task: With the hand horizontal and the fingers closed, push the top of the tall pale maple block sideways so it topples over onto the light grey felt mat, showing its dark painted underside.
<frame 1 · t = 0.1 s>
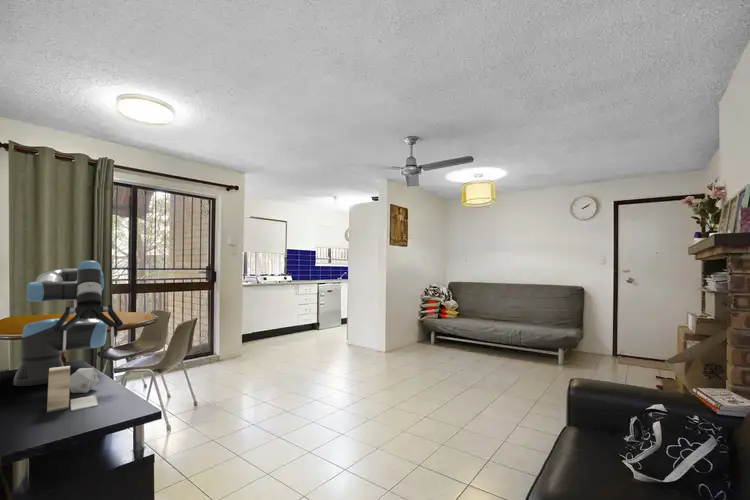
hand: (89, 346, 132), 15 cm above the table, tool tilted 35°, fingers open, 13 cm apart
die: (82, 392, 131), on the table
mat: (83, 403, 119), on the table
block: (58, 408, 115), on the table
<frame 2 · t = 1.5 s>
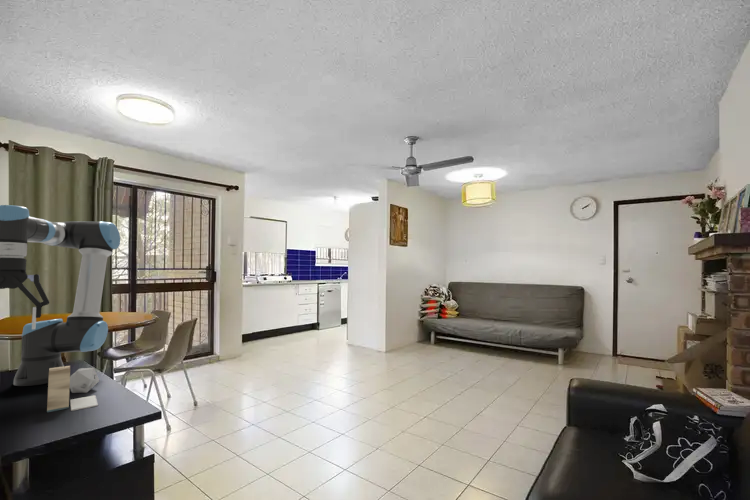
hand: (5, 331, 110), 24 cm above the table, tool pointing down, fingers open, 12 cm apart
nothing on the table moved.
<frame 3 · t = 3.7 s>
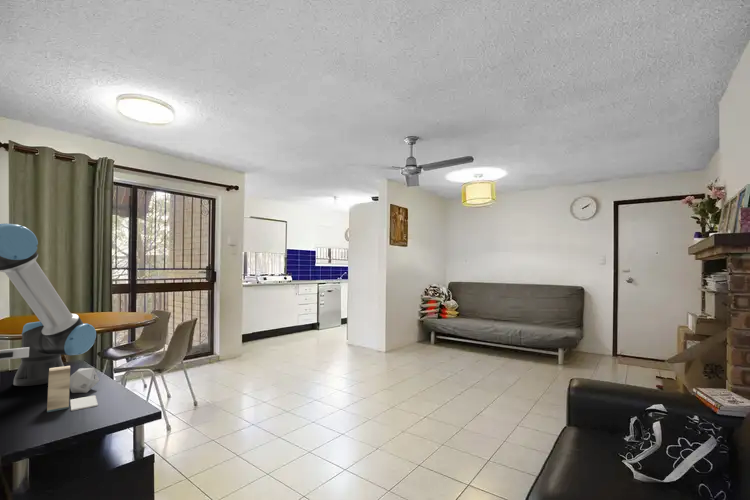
hand: (28, 352, 111), 18 cm above the table, tool horizontal, fingers closed
nothing on the table moved.
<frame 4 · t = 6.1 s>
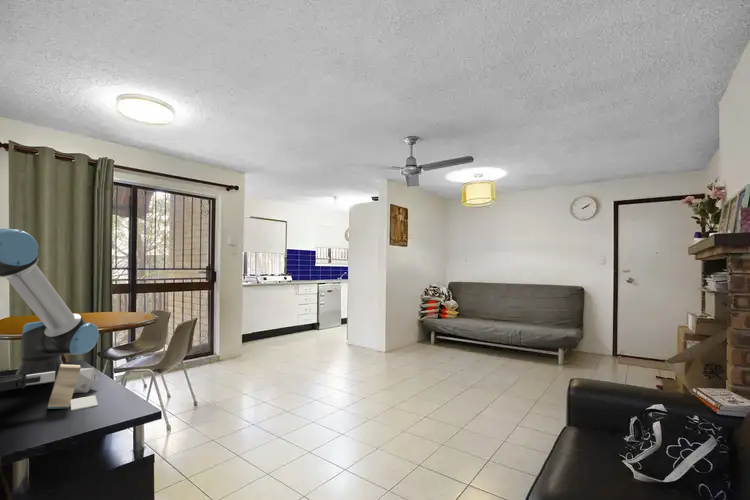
hand: (54, 376, 114), 10 cm above the table, tool horizontal, fingers closed
block: (58, 406, 115), on the table, tilted 12°, touching gripper
everything else where it was.
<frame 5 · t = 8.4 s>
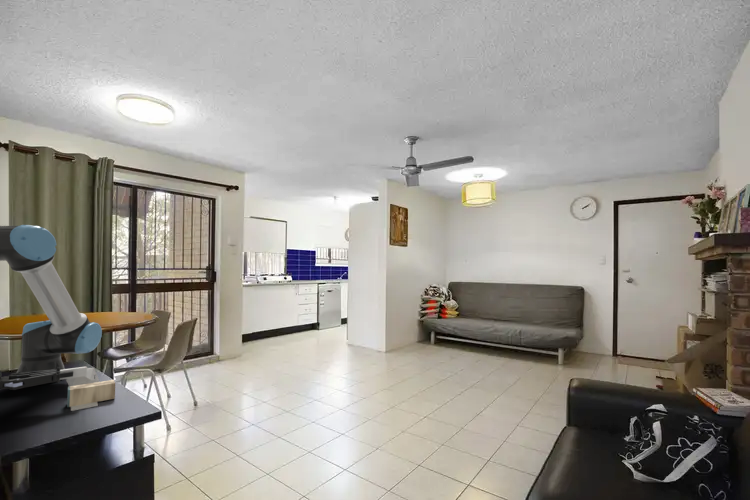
hand: (86, 371, 120), 10 cm above the table, tool horizontal, fingers closed
block: (67, 396, 116), point 3 cm above the table, tilted 90°, touching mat
everything else where it was.
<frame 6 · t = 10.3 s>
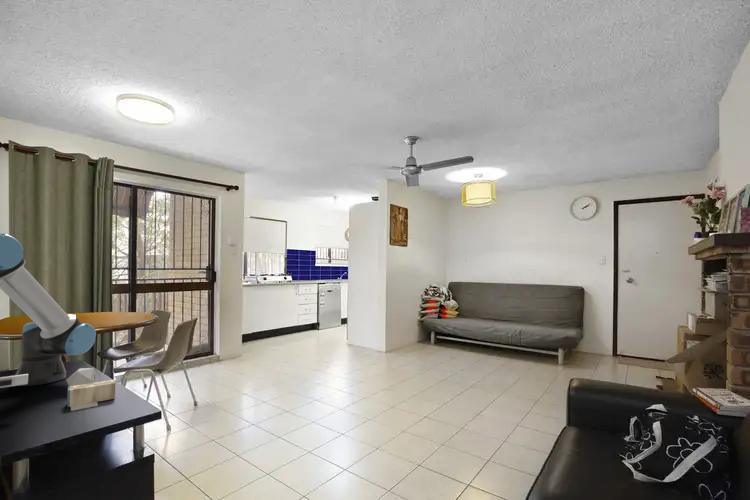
hand: (27, 378, 111), 10 cm above the table, tool horizontal, fingers closed
nothing on the table moved.
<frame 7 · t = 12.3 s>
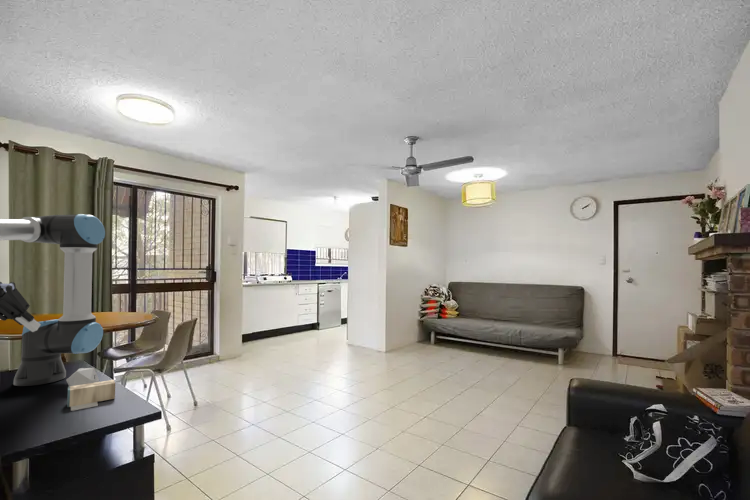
hand: (36, 328, 119), 24 cm above the table, tool tilted 45°, fingers closed
nothing on the table moved.
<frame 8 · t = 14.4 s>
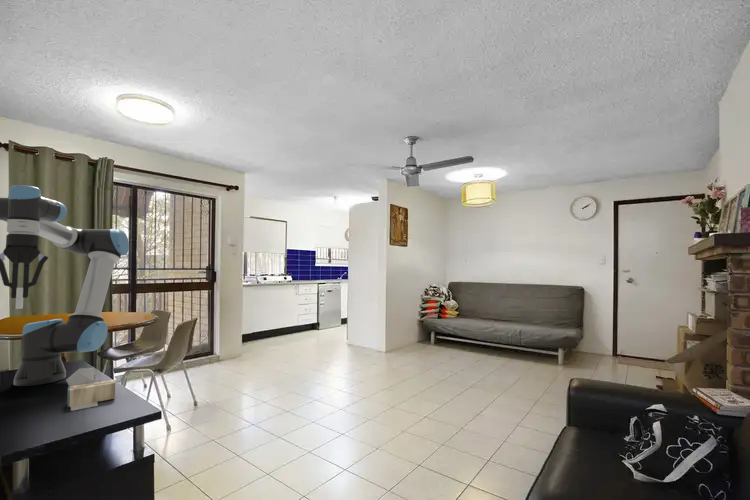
hand: (19, 308, 118), 30 cm above the table, tool pointing down, fingers closed
nothing on the table moved.
at the end: block tilted 90°; block touching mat; block inside the target area (4.3 cm from its centre), point 2.9 cm above the table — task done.
